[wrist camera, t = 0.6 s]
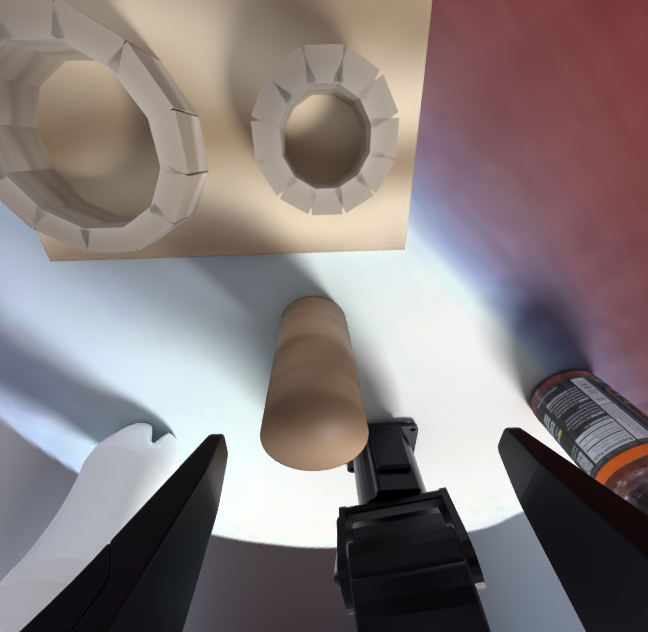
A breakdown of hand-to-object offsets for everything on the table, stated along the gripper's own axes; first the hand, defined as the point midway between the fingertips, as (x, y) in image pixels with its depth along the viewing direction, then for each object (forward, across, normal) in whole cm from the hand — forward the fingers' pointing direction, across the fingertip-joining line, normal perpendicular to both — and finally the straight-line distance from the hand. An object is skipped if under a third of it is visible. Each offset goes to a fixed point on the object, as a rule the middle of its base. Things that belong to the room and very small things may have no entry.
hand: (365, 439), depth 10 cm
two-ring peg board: (+13, +7, -9) cm, 17 cm away
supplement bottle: (+14, -20, +11) cm, 27 cm away
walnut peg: (+13, +2, +3) cm, 13 cm away
